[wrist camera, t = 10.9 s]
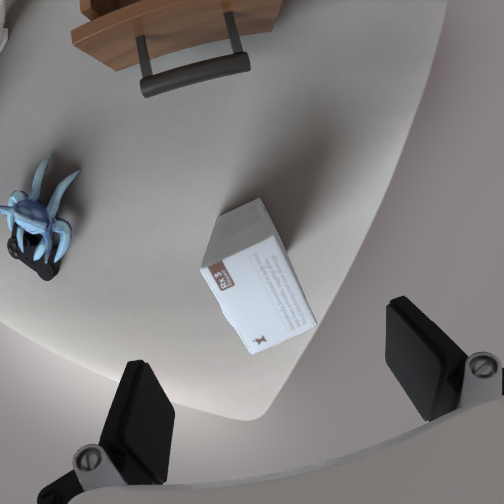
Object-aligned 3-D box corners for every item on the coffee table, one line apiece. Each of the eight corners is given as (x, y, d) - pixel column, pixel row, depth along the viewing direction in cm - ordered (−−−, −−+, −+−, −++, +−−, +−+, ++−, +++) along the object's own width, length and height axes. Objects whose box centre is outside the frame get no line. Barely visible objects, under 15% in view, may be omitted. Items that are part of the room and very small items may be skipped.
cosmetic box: (287, 254, 27) (326, 327, 16) (243, 275, 28) (253, 360, 16) (258, 192, 25) (282, 229, 14) (211, 216, 26) (196, 271, 14)
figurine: (96, 169, 24) (69, 195, 18) (71, 272, 29) (50, 318, 22) (17, 142, 21) (-26, 161, 14) (2, 246, 25) (-29, 284, 18)
